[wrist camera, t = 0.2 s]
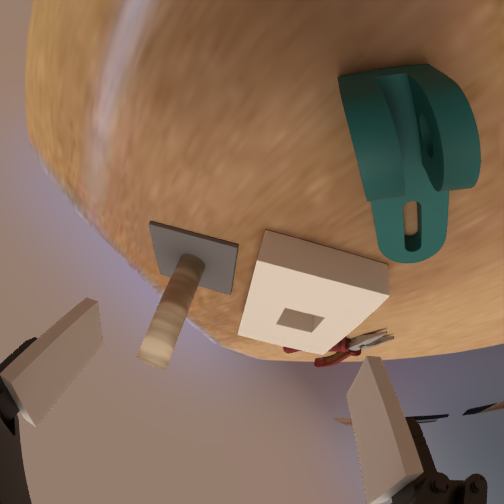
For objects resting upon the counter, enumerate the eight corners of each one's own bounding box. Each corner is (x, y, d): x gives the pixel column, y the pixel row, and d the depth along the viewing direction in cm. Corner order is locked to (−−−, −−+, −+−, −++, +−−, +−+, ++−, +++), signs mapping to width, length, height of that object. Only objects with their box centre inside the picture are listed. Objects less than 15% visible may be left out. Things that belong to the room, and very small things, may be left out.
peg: (179, 251, 34) (133, 353, 25) (205, 258, 34) (163, 365, 25) (181, 266, 37) (140, 361, 28) (205, 274, 37) (168, 372, 28)
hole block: (265, 229, 28) (256, 260, 26) (387, 264, 28) (389, 295, 25) (243, 312, 44) (237, 334, 42) (325, 332, 44) (322, 354, 41)
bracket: (337, 76, 15) (343, 115, 10) (427, 63, 12) (479, 99, 7) (379, 249, 27) (382, 316, 22) (438, 242, 24) (452, 309, 19)
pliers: (404, 339, 41) (404, 352, 40) (319, 358, 55) (317, 369, 54) (374, 314, 37) (373, 330, 36) (282, 339, 51) (279, 352, 50)
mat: (150, 221, 32) (148, 223, 31) (238, 244, 31) (237, 248, 31) (161, 271, 40) (160, 273, 40) (231, 292, 40) (230, 295, 40)
